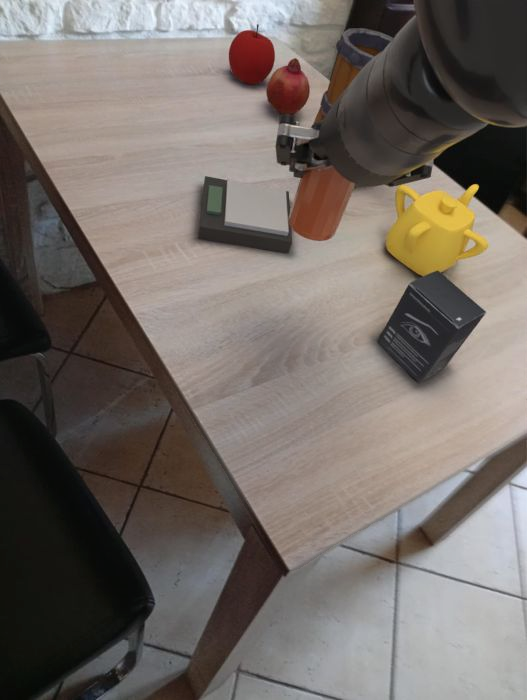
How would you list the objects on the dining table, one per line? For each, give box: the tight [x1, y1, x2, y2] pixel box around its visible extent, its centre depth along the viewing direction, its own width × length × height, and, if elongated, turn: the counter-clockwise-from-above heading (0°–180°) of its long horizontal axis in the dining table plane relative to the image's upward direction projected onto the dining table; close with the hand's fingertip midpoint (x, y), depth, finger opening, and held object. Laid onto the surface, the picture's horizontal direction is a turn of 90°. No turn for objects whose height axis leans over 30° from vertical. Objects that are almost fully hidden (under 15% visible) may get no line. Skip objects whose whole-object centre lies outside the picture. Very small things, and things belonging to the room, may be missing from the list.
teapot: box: [385, 183, 489, 277], centre depth 78 cm, size 14×13×10 cm
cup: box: [289, 169, 355, 242], centre depth 52 cm, size 5×5×9 cm
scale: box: [197, 175, 293, 254], centre depth 77 cm, size 13×12×3 cm
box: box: [377, 271, 487, 384], centre depth 64 cm, size 8×6×11 cm
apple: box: [228, 23, 276, 85], centre depth 103 cm, size 9×9×10 cm
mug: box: [313, 27, 394, 124], centre depth 85 cm, size 19×14×20 cm
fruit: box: [265, 57, 311, 115], centre depth 97 cm, size 8×8×10 cm
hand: (325, 172), depth 53 cm, fingers closed on cup, 5 cm apart
